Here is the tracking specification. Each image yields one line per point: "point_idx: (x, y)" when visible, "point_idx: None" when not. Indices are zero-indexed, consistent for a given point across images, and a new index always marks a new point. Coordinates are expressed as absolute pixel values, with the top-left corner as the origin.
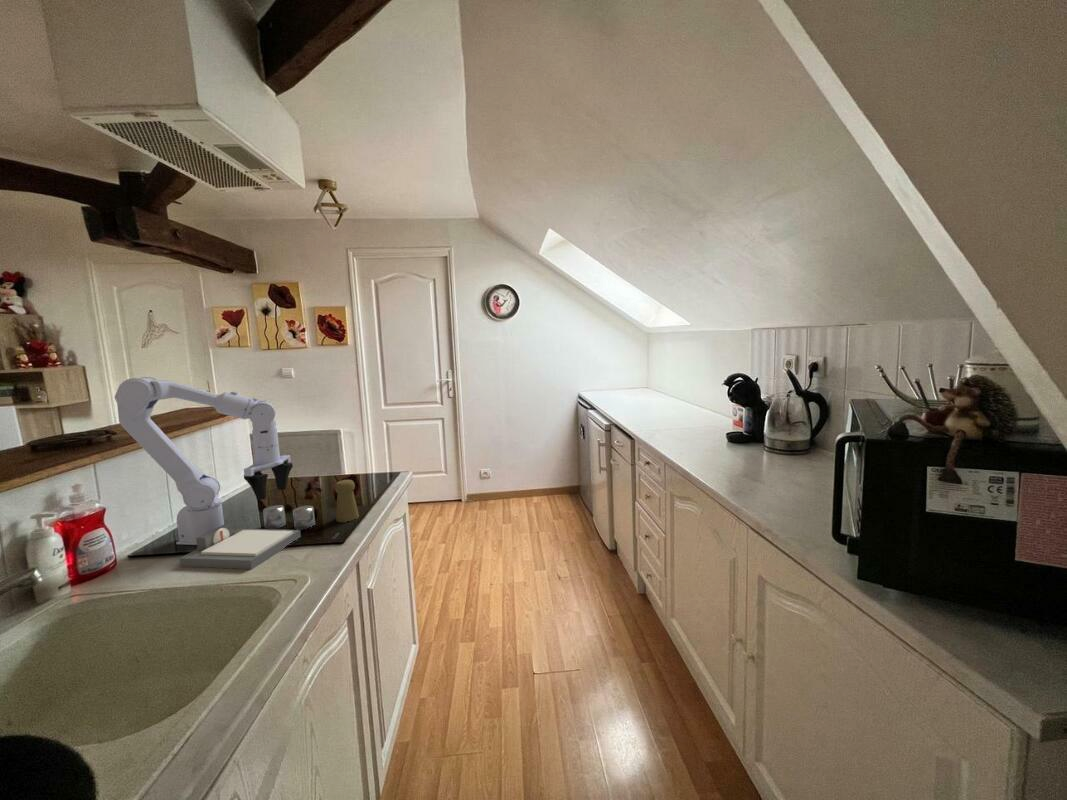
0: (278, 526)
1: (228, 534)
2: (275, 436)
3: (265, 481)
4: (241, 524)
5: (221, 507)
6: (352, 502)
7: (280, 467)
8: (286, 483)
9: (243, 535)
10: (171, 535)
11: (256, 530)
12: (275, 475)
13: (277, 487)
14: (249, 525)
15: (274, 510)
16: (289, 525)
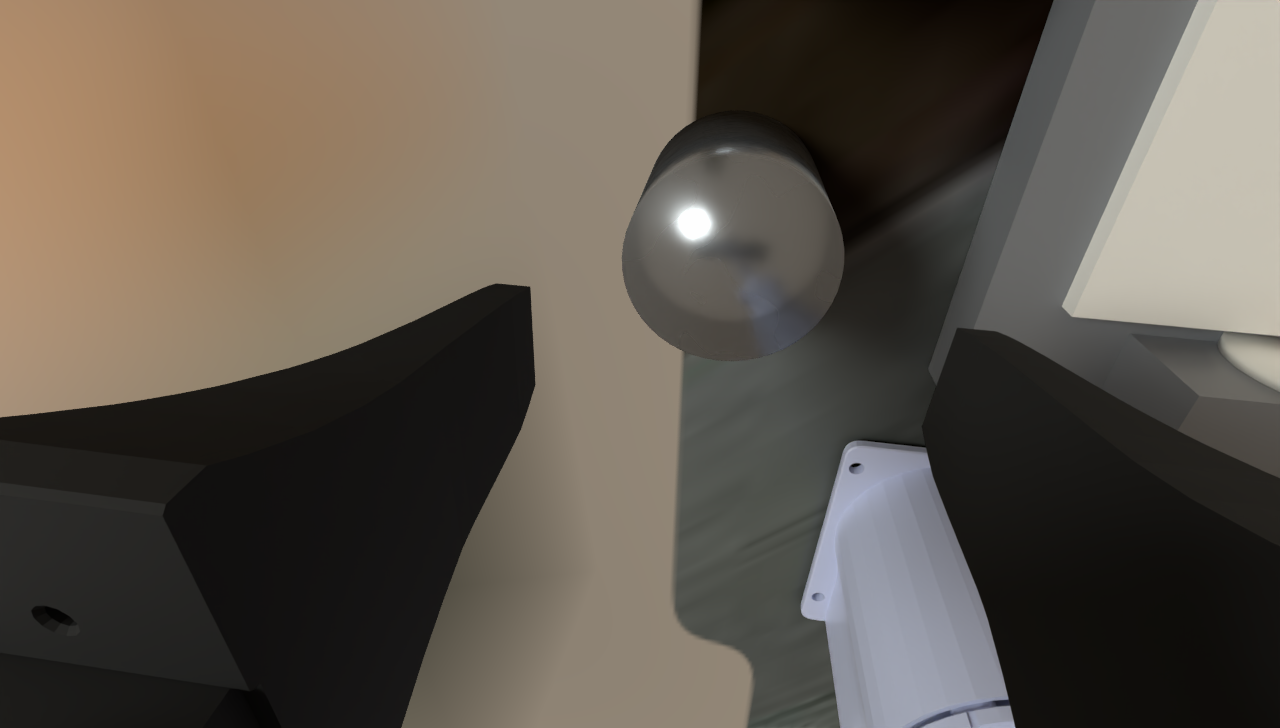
0: (792, 132)
1: (1250, 354)
2: None
3: (1225, 498)
4: (689, 476)
5: (966, 660)
6: None
7: (313, 656)
8: (457, 306)
9: (1262, 219)
10: (825, 707)
11: (1146, 165)
12: (438, 581)
13: (524, 410)
14: (711, 415)
15: (813, 205)
16: (739, 46)
